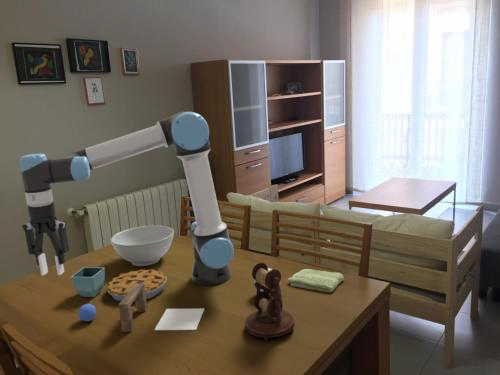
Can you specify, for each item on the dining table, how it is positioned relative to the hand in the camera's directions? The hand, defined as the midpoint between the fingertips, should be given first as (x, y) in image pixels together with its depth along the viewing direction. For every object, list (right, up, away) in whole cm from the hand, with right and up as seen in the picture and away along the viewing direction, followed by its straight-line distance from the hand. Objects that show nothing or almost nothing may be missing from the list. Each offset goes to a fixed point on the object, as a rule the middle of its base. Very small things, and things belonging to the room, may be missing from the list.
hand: (52, 273), depth 141 cm
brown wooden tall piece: (+70, -15, -10) cm, 72 cm away
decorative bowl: (+18, -5, +52) cm, 55 cm away
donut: (+70, -10, +11) cm, 71 cm away
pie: (+22, -11, +23) cm, 34 cm away
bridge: (+26, -15, +1) cm, 31 cm away
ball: (+10, -13, +2) cm, 17 cm away
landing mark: (+41, -14, -1) cm, 44 cm away
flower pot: (+5, -12, +22) cm, 26 cm away
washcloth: (+88, -8, +19) cm, 90 cm away
